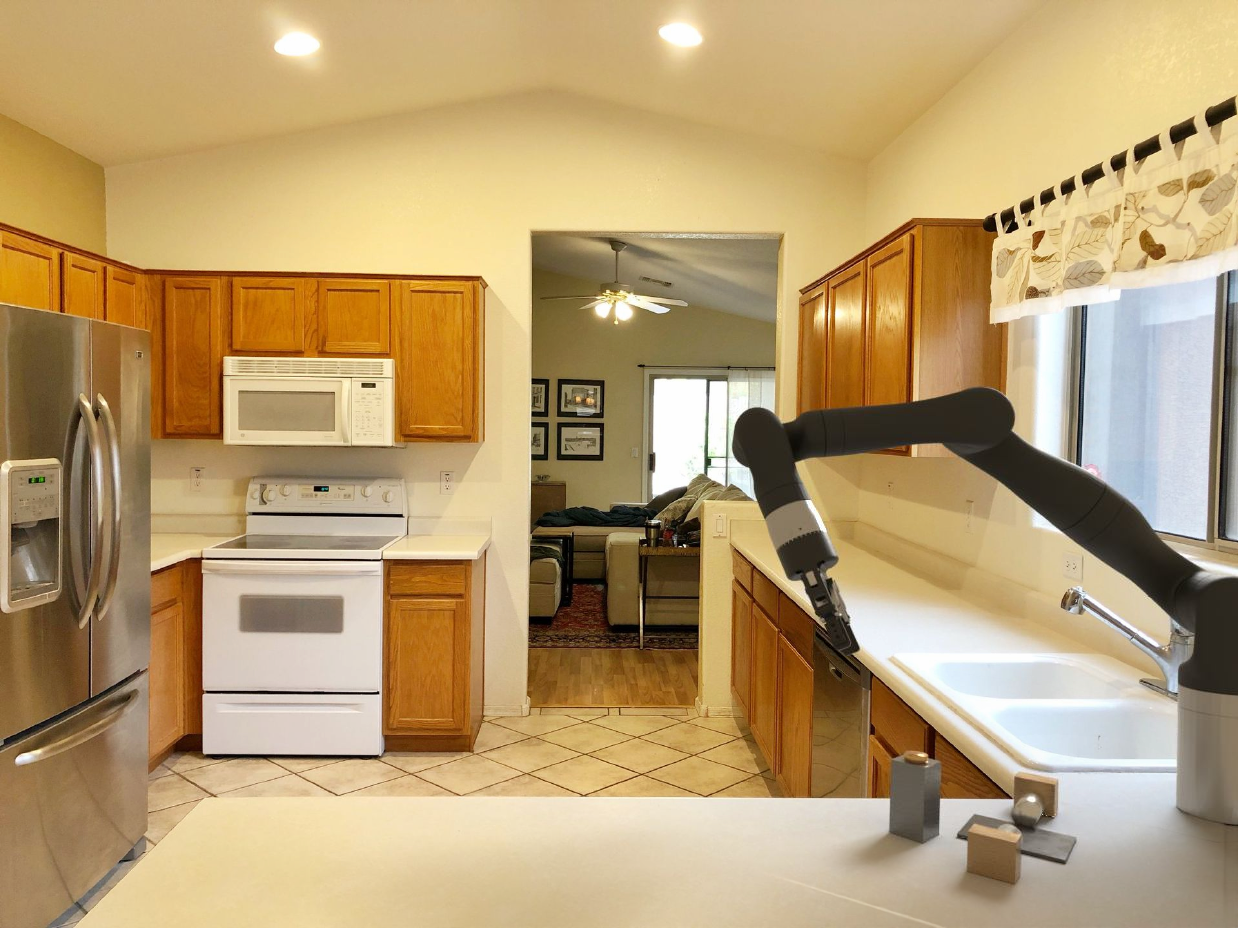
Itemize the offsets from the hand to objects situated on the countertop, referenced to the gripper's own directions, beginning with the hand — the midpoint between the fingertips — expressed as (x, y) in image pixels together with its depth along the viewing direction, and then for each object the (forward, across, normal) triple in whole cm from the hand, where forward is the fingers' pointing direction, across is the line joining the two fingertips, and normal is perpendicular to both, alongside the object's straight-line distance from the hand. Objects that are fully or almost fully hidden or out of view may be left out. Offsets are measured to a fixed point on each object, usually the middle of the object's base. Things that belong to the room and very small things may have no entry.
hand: (848, 650), depth 114 cm
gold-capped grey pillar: (+23, +2, +2) cm, 23 cm away
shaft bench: (+27, +7, -9) cm, 30 cm away
